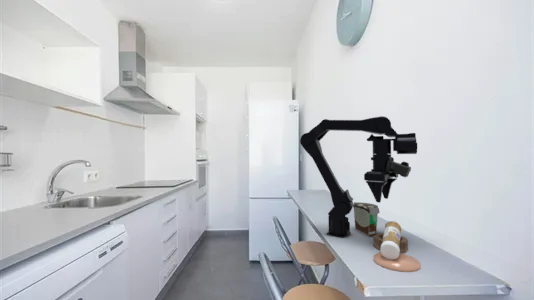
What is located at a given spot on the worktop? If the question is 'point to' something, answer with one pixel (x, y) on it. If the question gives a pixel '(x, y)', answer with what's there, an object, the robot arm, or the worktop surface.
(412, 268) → the peach round disc
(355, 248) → the worktop surface
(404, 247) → the ring
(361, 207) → the food container
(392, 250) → the sprinkles bottle
